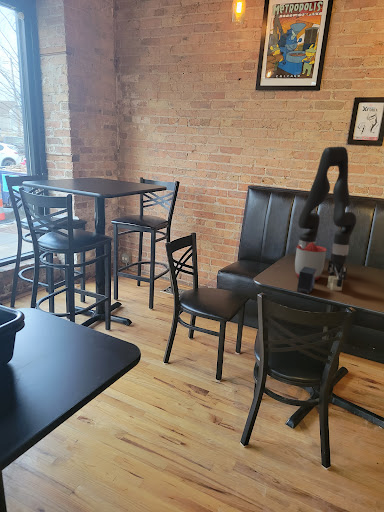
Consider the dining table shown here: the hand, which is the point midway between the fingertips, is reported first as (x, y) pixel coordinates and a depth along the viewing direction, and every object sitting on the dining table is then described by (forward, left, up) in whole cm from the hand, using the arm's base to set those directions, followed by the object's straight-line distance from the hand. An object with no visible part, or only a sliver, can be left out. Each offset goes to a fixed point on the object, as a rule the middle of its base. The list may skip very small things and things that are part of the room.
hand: (334, 283), depth 180 cm
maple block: (0, 0, -3) cm, 3 cm away
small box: (+2, -16, -3) cm, 16 cm away
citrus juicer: (-18, -7, -3) cm, 20 cm away
